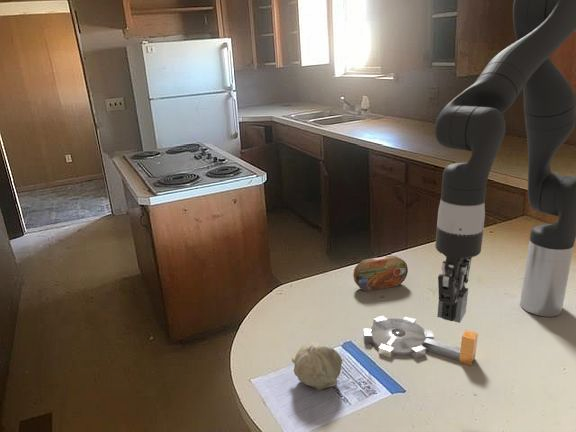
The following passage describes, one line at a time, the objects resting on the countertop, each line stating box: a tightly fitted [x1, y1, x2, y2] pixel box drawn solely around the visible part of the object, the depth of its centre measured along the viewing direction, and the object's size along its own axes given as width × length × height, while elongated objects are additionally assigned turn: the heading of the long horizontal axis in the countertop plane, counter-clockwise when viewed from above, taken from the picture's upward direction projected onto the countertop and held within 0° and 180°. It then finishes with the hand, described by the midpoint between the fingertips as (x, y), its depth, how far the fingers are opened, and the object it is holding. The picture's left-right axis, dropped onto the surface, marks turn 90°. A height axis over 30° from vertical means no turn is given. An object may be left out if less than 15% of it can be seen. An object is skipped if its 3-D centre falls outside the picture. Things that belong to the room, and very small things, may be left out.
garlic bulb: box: [291, 341, 343, 391], centre depth 93 cm, size 9×8×10 cm
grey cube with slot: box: [436, 287, 469, 324], centre depth 88 cm, size 4×4×5 cm
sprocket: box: [363, 315, 435, 359], centre depth 107 cm, size 15×14×2 cm
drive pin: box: [424, 329, 479, 367], centre depth 100 cm, size 3×10×6 cm, turn 56°
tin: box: [352, 255, 409, 292], centre depth 131 cm, size 15×3×8 cm, turn 105°
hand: (451, 313), depth 89 cm, fingers closed on grey cube with slot, 4 cm apart
